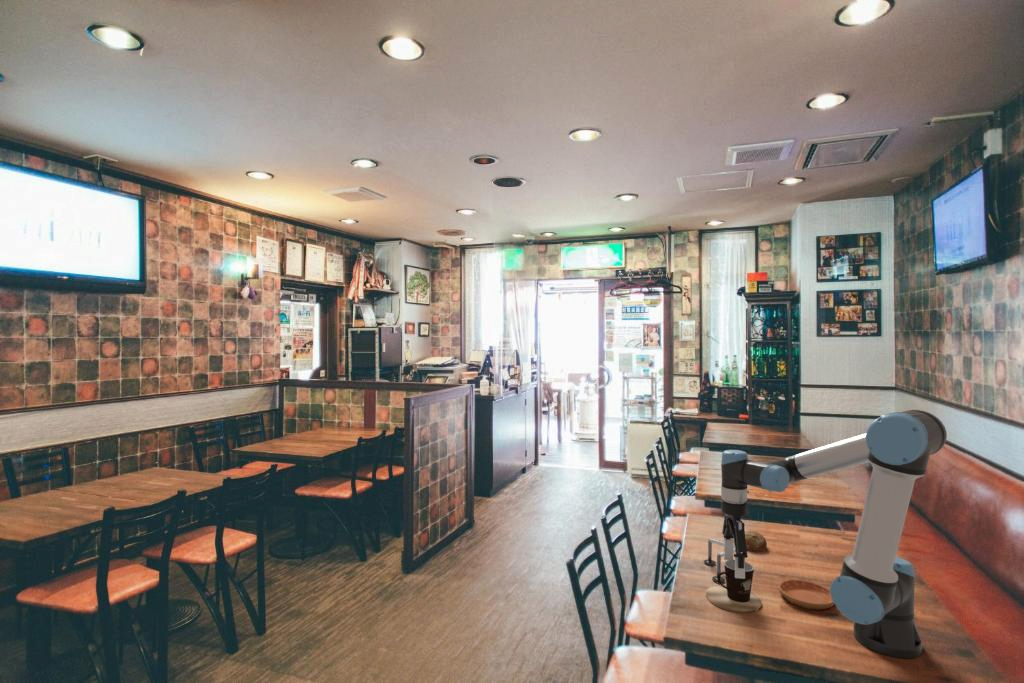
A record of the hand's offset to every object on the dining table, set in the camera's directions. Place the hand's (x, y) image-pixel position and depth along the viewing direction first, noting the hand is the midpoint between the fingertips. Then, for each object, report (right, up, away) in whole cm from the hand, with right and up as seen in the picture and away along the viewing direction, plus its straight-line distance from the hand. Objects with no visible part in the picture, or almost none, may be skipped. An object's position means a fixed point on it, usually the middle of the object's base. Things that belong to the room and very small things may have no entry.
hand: (734, 568), depth 168 cm
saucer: (+23, -10, +1) cm, 25 cm away
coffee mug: (0, -9, 0) cm, 9 cm away
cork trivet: (0, -10, 0) cm, 10 cm away
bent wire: (+5, -10, +20) cm, 23 cm away
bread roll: (+25, -10, +43) cm, 51 cm away
